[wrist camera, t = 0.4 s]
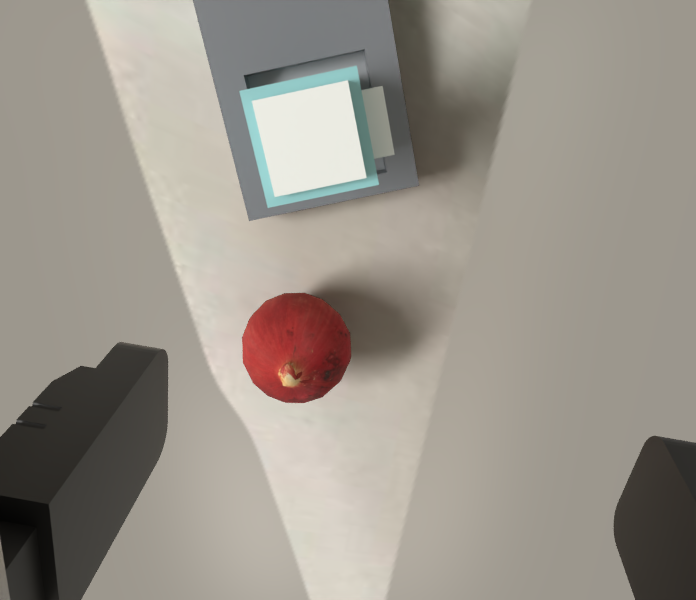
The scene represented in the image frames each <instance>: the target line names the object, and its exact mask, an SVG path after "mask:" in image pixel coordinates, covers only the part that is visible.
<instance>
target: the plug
mask: <svg viewBox="0 0 696 600" xmlns="http://www.w3.org/2000/svg"><path fill="white" fill-rule="evenodd" d="M239 92H240V96H241V100H242V104H243V108H244V113H245V117H246V121H247V125H248V129H249V133H250V137H251V141H252V145H253V149H254V154H255V158H256V162H257V166H258V170H259V174H260V178H261V182H262V186H263V190H264V194H265V199H266V203H267V207H268V208H270V207H275V206H279V205H284V204H289V203H294V202H299V201H303V200H308V199H313V198H318V197H323V196H327V195H332V194H337V193H342V192H347V191H351V190H356V189H361V188H366V187H371V186H375V185H379V182H378V176H377V171H376V166H375V160H374V159H376V158H381V157H386V156H391V155H395V154H394V148H393V142H392V137H391V131H390V125H389V120H388V114H387V108H386V103H385V97H384V91H383V86H379V87H374V88H369V89H365V90H361V86H360V80H359V75H358V69H357V66H353V67H348V68H343V69H339V70H334V71H329V72H325V73H320V74H315V75H311V76H306V77H302V78H297V79H292V80H288V81H283V82H278V83H274V84H269V85H264V86H260V87H255V88H251V89H246V90H241V91H239Z"/></svg>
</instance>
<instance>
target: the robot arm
mask: <svg viewBox="0 0 696 600" xmlns="http://www.w3.org/2000/svg"><path fill="white" fill-rule="evenodd" d="M167 424H168V356H167V353H166V351H165V350H163V349H158V348H152V347H147V346H141V345H135V344H129V343H124V342H119V343H117V344H116V345H115V346H114V347H113V348H112V350H111V351H110V352H109V353H108V354H107V355H106V357H105V358H104V359H103V360H102V361H101V362H100V364H99V365H98V366H97V367H96V368H90V367H84V366H80V367H78V368H76V369H74V370H73V371H71V372H69V373H67V374H65V375H63V376H62V377H60V378H58V379H56V380H54V381H52V382H51V383H50V385H49V386H48V387H47V388H46V389H45V390H44V391H43V392H42V393H41V394H40V395H39V396H38V397H37V399H36V400H35V401H34V402H33V406H32V407H30V406H29V407H28V408H27V409H26V410H25V411H24V412H23V413H22V415H21V416H20V417H19V418H18V419H17V422H16V424H12V425H11V426H10V427H9V428H8V429H7V431H6V432H5V433H4V434H3V435H2V436H1V437H0V600H81V599H82V597H83V595H84V593H85V592H86V590H87V588H88V586H89V584H90V583H91V581H92V579H93V577H94V575H95V573H96V572H97V570H98V568H99V566H100V564H101V563H102V561H103V559H104V557H105V556H106V554H107V552H108V550H109V548H110V546H111V545H112V542H113V541H114V539H115V537H116V536H117V534H118V532H119V530H120V528H121V527H122V525H123V523H124V521H125V519H126V517H127V516H128V514H129V512H130V510H131V508H132V507H133V505H134V503H135V501H136V499H137V498H138V496H139V494H140V492H141V490H142V489H143V487H144V485H145V483H146V481H147V479H148V478H149V476H150V474H151V472H152V471H153V469H154V467H155V465H156V463H157V461H158V460H159V457H160V455H161V452H162V449H163V446H164V442H165V438H166V433H167ZM614 537H615V542H616V546H617V549H618V551H619V554H620V557H621V560H622V563H623V566H624V568H625V572H626V574H627V577H628V580H629V583H630V586H631V589H632V592H633V594H634V597H635V600H696V443H693V442H688V441H682V440H676V439H670V438H664V437H658V436H652V437H650V438H649V439H648V440H647V441H646V442H645V444H644V446H643V448H642V450H641V452H640V455H639V457H638V459H637V461H636V463H635V466H634V468H633V470H632V473H631V475H630V477H629V479H628V481H627V484H626V486H625V488H624V490H623V493H622V495H621V497H620V499H619V502H618V504H617V507H616V510H615V516H614Z"/></svg>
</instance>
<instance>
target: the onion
mask: <svg viewBox="0 0 696 600" xmlns="http://www.w3.org/2000/svg"><path fill="white" fill-rule="evenodd" d="M242 343H243V364H244V365H245V367H246V369H247V371H248V373H249V375H250V377H251V379H252V381H253V383H254V384H255V385H256V386H257V387H258V388H259V389H261V390H262V391H263V392H264V393H265V394H266V395H267V396H270V397H272V398H275V399H277V400H280V401H283V402H285V403H305V402H309V401H312V400H315V399H318V398H321V397H323V396H324V395H325V394H326V393H327V392H329V391H330V390H331V389H332V388H333V387H334V386H335V385H337V384H338V383H339V382H340V381H341V379H342V377H343V375H344V373H345V371H346V368H347V366H348V364H349V362H350V359H351V341H350V332H349V331H348V329H347V327H346V325H345V323H344V321H343V319H342V318H341V316H340V314H339V313H338V312H336V311H335V310H334V309H333V308H332V307H331V306H329V305H328V304H327V303H326V302H325V301H324V300H323V299H320V298H317V297H314V296H312V295H309V294H306V293H284V294H282V295H279V296H277V297H274V298H272V299H269V300H267V301H265V302H264V303H263V304H262V306H261V307H260V308H259V309H258V310H257V311H256V312H255V313H254V314H253V315H252V316H251V318H250V319H249V321H248V324H247V326H246V329H245V332H244V334H243V337H242Z"/></svg>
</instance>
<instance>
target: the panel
mask: <svg viewBox="0 0 696 600" xmlns="http://www.w3.org/2000/svg"><path fill="white" fill-rule="evenodd" d="M193 3H194V6H195V10H196V14H197V18H198V22H199V26H200V30H201V34H202V38H203V42H204V46H205V50H206V53H207V57H208V61H209V65H210V69H211V73H212V77H213V81H214V85H215V89H216V93H217V97H218V101H219V104H220V108H221V112H222V116H223V120H224V124H225V128H226V132H227V136H228V140H229V144H230V148H231V151H232V155H233V159H234V163H235V167H236V171H237V175H238V179H239V183H240V187H241V191H242V195H243V199H244V202H245V206H246V210H247V214H248V218H249V221H251V220H256V219H261V218H265V217H270V216H275V215H280V214H285V213H290V212H294V211H299V210H304V209H309V208H314V207H318V206H323V205H328V204H333V203H338V202H343V201H347V200H352V199H357V198H362V197H367V196H371V195H376V194H381V193H386V192H391V191H395V190H400V189H405V188H410V187H415V186H419V183H418V177H417V171H416V165H415V159H414V153H413V147H412V141H411V135H410V129H409V123H408V117H407V111H406V105H405V99H404V93H403V87H402V81H401V75H400V69H399V63H398V57H397V51H396V45H395V39H394V33H393V27H392V21H391V15H390V9H389V3H388V0H193ZM353 66H357V69H358V75H359V80H360V86H361V90H365V89H369V88H374V87H379V86H383V91H384V97H385V103H386V108H387V114H388V120H389V125H390V131H391V137H392V142H393V148H394V154H395V155H391V156H386V157H381V158H376V159H374V160H375V166H376V171H377V176H378V182H379V185H375V186H371V187H366V188H361V189H356V190H351V191H347V192H342V193H337V194H332V195H327V196H323V197H318V198H313V199H308V200H303V201H299V202H294V203H289V204H284V205H279V206H275V207H270V208H268V207H267V203H266V199H265V194H264V190H263V186H262V182H261V178H260V174H259V170H258V166H257V162H256V158H255V154H254V149H253V145H252V141H251V137H250V133H249V129H248V125H247V121H246V117H245V113H244V108H243V104H242V100H241V96H240V92H239V91H241V90H246V89H251V88H255V87H260V86H264V85H269V84H274V83H278V82H283V81H288V80H292V79H297V78H302V77H306V76H311V75H315V74H320V73H325V72H329V71H334V70H339V69H343V68H348V67H353Z"/></svg>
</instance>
